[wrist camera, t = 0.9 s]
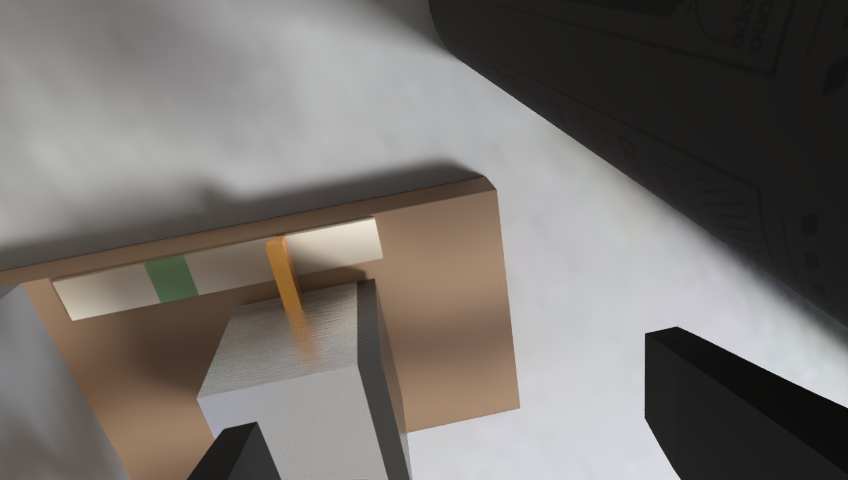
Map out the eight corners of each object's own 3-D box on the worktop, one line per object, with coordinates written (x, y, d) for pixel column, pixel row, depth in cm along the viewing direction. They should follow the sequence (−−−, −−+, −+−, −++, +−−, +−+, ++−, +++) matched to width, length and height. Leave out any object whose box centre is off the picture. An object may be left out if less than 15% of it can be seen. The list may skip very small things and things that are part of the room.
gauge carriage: (402, 395, 19) (414, 497, 15) (278, 422, 19) (256, 532, 15) (360, 216, 16) (362, 284, 12) (212, 245, 16) (163, 324, 12)
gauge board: (509, 383, 21) (562, 507, 16) (78, 476, 21) (-22, 640, 15) (485, 176, 18) (543, 246, 12) (-45, 280, 17) (-236, 405, 11)
